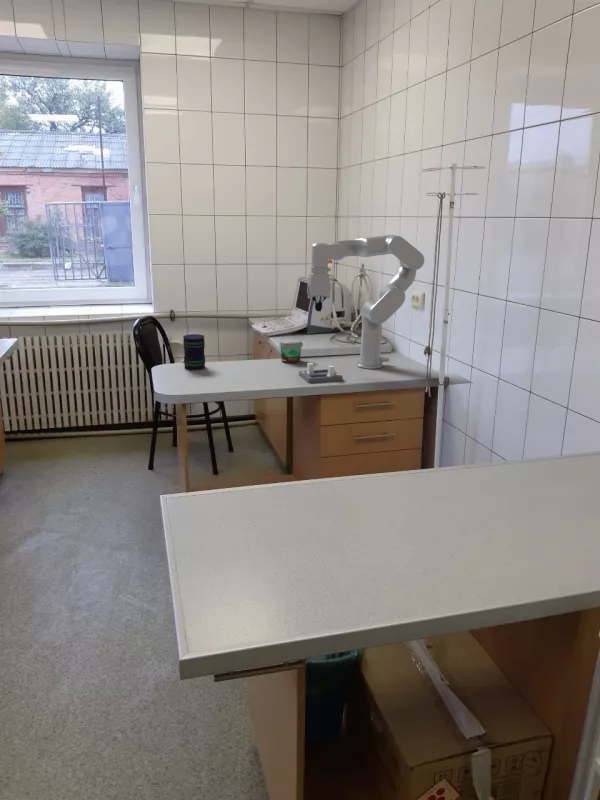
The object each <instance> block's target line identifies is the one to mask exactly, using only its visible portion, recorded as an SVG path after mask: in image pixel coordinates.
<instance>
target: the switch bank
mask: <svg viewBox="0 0 600 800" xmlns="http://www.w3.org/2000/svg"><path fill="white" fill-rule="evenodd" d="M306 372H307V370H298V376H299V377H300V378H302V379H303V380H304V381H305V382H306V383H308V384H314V383H316V384H317V383H328V382H339V381H343V375H342V374H340V373H339V372H337V371H336V370H334V375H335V376H326V375H328V368H324V369H323V368H322V369H313V372H314V373H308V374H307V373H306Z"/></svg>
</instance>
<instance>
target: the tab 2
mask: <svg viewBox="0 0 600 800" xmlns="http://www.w3.org/2000/svg"><path fill="white" fill-rule="evenodd" d="M327 369H328V375H326V376H335V375H334V371H335V366H334V365H327Z"/></svg>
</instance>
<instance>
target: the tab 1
mask: <svg viewBox="0 0 600 800" xmlns="http://www.w3.org/2000/svg"><path fill="white" fill-rule="evenodd" d="M306 366H307V367H306V371H307V372H306V373H307V374H308V373H314V372H313V370H314V369H315V367H314V363H313V362H307V365H306Z"/></svg>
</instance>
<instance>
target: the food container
mask: <svg viewBox="0 0 600 800" xmlns="http://www.w3.org/2000/svg"><path fill="white" fill-rule="evenodd" d="M278 346H279V347H280V358H281V363H284V364H298V363H300V362H301V353H302V347H303V346H304V343H303V341H302V340H300V341H298V342H292V341H291V342H290V341H289V342H287V343H284V342H281V341H280V342H279V345H278Z"/></svg>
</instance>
